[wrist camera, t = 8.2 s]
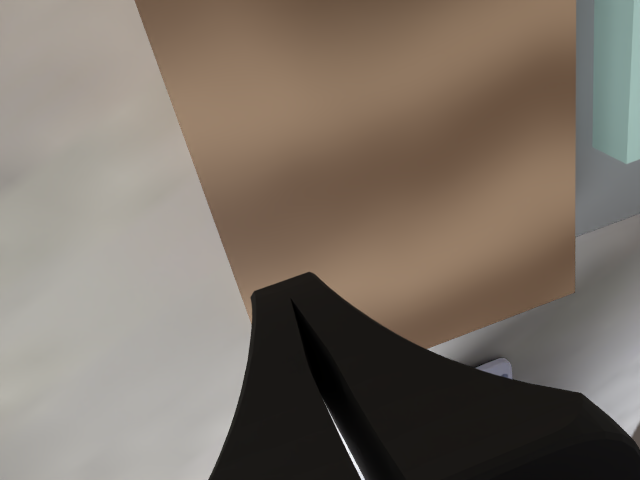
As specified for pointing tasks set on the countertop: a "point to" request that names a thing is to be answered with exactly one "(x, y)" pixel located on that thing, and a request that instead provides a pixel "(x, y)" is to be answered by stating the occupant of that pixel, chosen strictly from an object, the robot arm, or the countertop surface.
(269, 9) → the deck
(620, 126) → the pale teal block
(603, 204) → the mat
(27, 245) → the countertop surface
